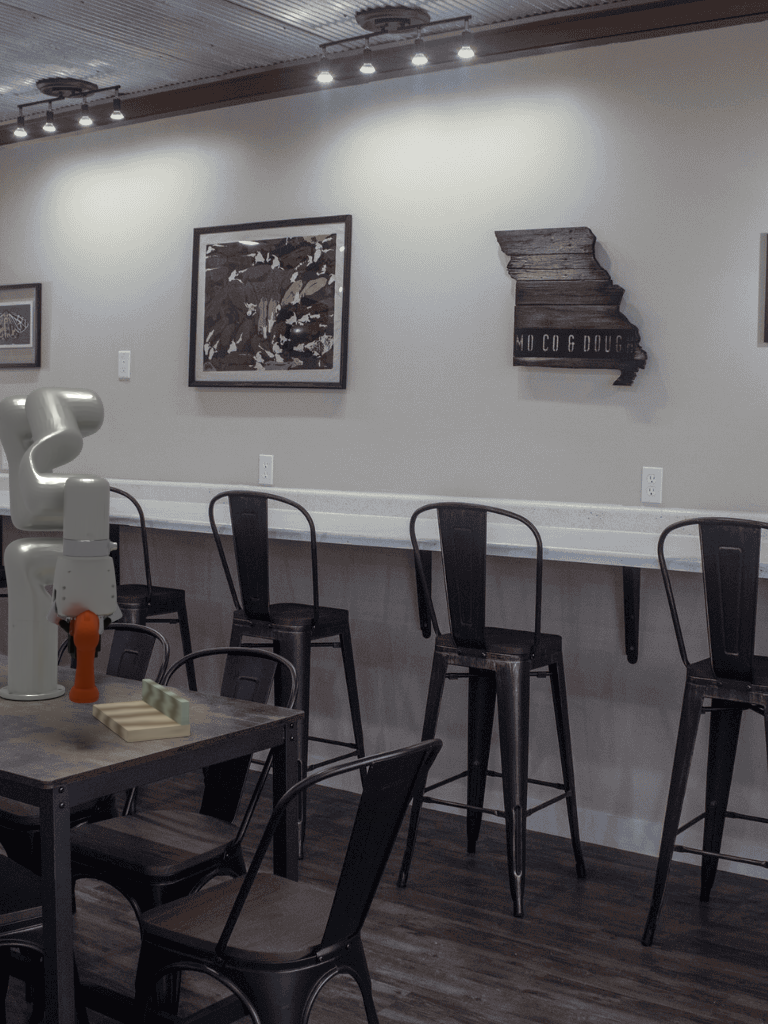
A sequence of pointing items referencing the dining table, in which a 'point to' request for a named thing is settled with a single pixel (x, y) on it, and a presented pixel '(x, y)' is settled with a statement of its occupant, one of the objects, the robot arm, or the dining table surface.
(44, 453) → the robot arm
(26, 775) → the dining table surface
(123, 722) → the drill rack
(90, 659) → the toy drill
